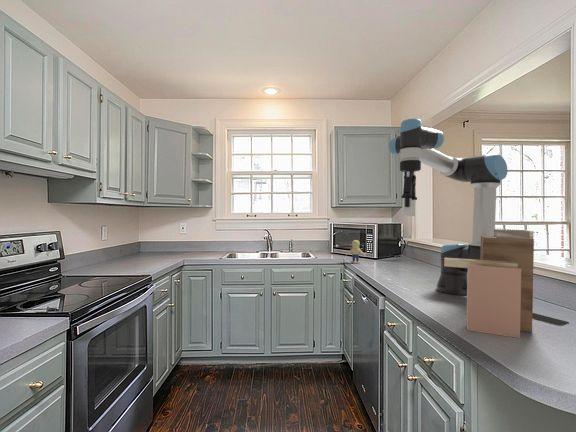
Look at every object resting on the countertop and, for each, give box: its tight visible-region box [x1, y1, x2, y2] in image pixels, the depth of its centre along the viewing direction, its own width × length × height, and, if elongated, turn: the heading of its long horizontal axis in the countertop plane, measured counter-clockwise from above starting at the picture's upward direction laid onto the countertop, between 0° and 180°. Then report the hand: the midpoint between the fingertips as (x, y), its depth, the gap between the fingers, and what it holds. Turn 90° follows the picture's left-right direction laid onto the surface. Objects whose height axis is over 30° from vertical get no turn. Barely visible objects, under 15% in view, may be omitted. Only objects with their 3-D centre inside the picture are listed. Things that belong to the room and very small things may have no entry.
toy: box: [345, 239, 366, 264], centre depth 243 cm, size 15×7×18 cm, turn 79°
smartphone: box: [532, 312, 570, 327], centre depth 117 cm, size 7×1×15 cm
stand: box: [480, 228, 535, 333], centre depth 110 cm, size 9×14×32 cm, turn 63°
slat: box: [444, 258, 518, 268], centre depth 106 cm, size 4×20×2 cm, turn 63°
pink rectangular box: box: [466, 265, 521, 339], centre depth 104 cm, size 7×14×21 cm, turn 63°
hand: (409, 216), depth 123 cm, fingers open, 13 cm apart
